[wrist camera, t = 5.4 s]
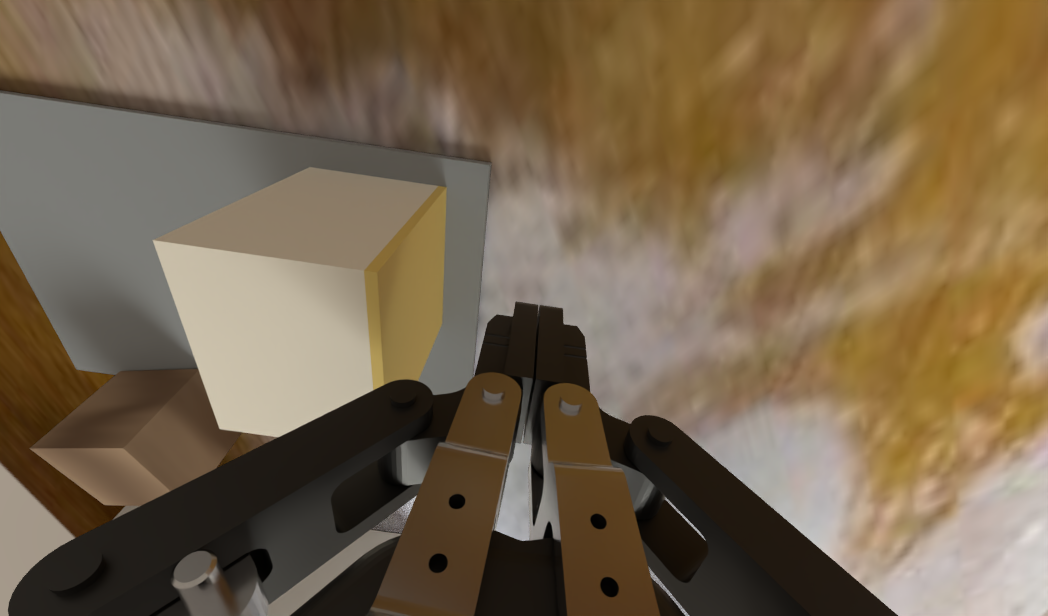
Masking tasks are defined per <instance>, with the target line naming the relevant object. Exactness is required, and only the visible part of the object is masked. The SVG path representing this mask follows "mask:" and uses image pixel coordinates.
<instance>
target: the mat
mask: <svg viewBox="0 0 1048 616" xmlns="http://www.w3.org/2000/svg"><path fill="white" fill-rule="evenodd" d="M309 167H313V168H319V169H326V170H333V171H340V172H347V173H354V174H360V175H367V176H374V177H381V178H388V179H395V180H401V181H408V182H415V183H422V184H429V185H436V186H442V187H447V192H446V223H445V254H444V285H443V316H442V325H441V328H440V330H439V332H438V335H437V337H436V339H435V342H434V344H433V347H432V349H431V351H430V354H429V356H428V359H427V361H426V363H425V366H424V368H423V370H422V373H421V375H420V378H419V380H418V381H419V382H421V383H423V384H425V385H426V386H428V387H429V388H430V390H431V391H432V393H433V395H438V394H447V393H453V392H456V391H459V390H461V389H463V388H465V387H466V386H467V384H468V382H469V381H470V380H471V379H472V378H473V372H474V360H475V349H476V337H477V325H478V313H479V302H480V290H481V278H482V266H483V255H484V243H485V231H486V219H487V208H488V196H489V184H490V172H491V162H484V161H477V160H470V159H464V158H457V157H450V156H443V155H437V154H430V153H423V152H416V151H409V150H403V149H396V148H389V147H382V146H375V145H369V144H362V143H355V142H348V141H341V140H335V139H328V138H321V137H314V136H308V135H301V134H294V133H287V132H280V131H274V130H267V129H260V128H253V127H246V126H240V125H233V124H226V123H219V122H212V121H206V120H199V119H192V118H185V117H178V116H172V115H165V114H158V113H151V112H145V111H138V110H131V109H124V108H117V107H111V106H104V105H97V104H90V103H83V102H77V101H70V100H63V99H56V98H49V97H43V96H36V95H29V94H22V93H16V92H9V91H2V90H0V231H1V233H2V234H3V236H4V238H5V240H6V242H7V244H8V245H9V247H10V249H11V251H12V253H13V254H14V256H15V258H16V260H17V262H18V264H19V265H20V267H21V269H22V271H23V273H24V275H25V276H26V278H27V280H28V282H29V284H30V285H31V287H32V289H33V291H34V293H35V295H36V296H37V298H38V300H39V302H40V304H41V305H42V307H43V309H44V311H45V313H46V315H47V316H48V318H49V320H50V322H51V324H52V326H53V327H54V329H55V331H56V333H57V335H58V336H59V338H60V340H61V342H62V344H63V346H64V347H65V349H66V351H67V353H68V355H69V356H70V358H71V360H72V362H73V364H74V366H75V367H76V369H77V370H84V371H91V372H98V373H105V374H112V375H116V374H117V373H118V372H120V371H142V370H176V369H198V367H197V364H196V361H195V358H194V356H193V353H192V350H191V347H190V344H189V341H188V339H187V336H186V333H185V330H184V327H183V325H182V322H181V319H180V316H179V313H178V310H177V308H176V305H175V302H174V299H173V296H172V294H171V291H170V288H169V285H168V282H167V279H166V277H165V274H164V271H163V268H162V265H161V262H160V260H159V257H158V254H157V251H156V248H155V246H154V243H153V240H154V239H156V238H158V237H161V236H163V235H165V234H167V233H169V232H171V231H173V230H176V229H178V228H180V227H182V226H184V225H186V224H189V223H191V222H193V221H195V220H197V219H199V218H201V217H204V216H206V215H208V214H210V213H212V212H214V211H217V210H219V209H221V208H223V207H225V206H227V205H229V204H232V203H234V202H236V201H238V200H240V199H242V198H244V197H247V196H249V195H251V194H253V193H255V192H257V191H260V190H262V189H264V188H266V187H268V186H270V185H272V184H275V183H277V182H279V181H281V180H283V179H285V178H287V177H290V176H292V175H294V174H296V173H298V172H300V171H303V170H305V169H307V168H309Z"/></svg>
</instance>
